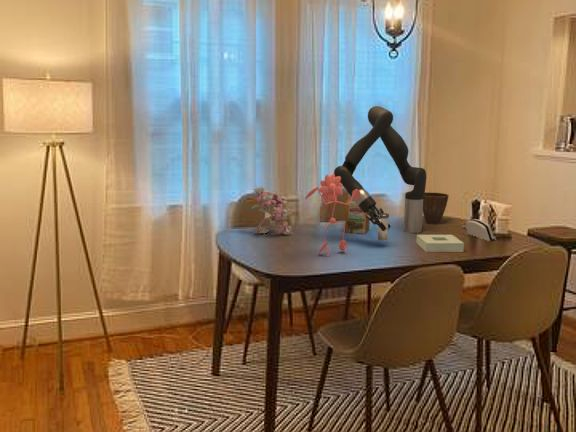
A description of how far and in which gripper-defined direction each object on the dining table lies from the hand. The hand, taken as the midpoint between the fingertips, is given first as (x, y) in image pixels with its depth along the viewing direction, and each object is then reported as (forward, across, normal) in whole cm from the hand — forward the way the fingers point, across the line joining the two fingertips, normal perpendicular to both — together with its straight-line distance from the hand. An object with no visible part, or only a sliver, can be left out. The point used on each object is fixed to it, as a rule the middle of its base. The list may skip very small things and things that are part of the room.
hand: (387, 228), depth 271 cm
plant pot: (+6, +66, +7) cm, 67 cm away
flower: (-34, -8, +46) cm, 58 cm away
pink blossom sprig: (-6, -24, +18) cm, 31 cm away
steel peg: (+2, 0, +5) cm, 6 cm away
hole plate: (+21, +13, -8) cm, 26 cm away
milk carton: (-12, +21, +24) cm, 34 cm away
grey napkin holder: (+28, +45, -15) cm, 55 cm away
